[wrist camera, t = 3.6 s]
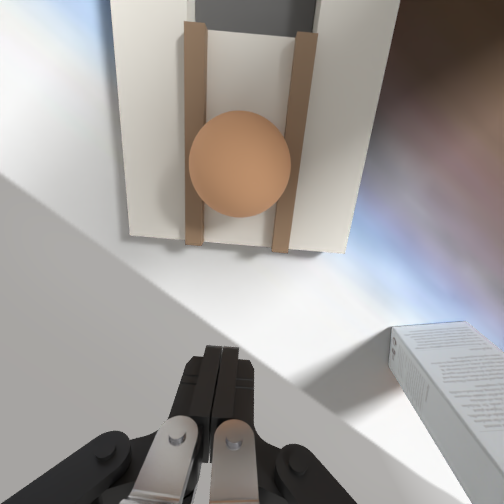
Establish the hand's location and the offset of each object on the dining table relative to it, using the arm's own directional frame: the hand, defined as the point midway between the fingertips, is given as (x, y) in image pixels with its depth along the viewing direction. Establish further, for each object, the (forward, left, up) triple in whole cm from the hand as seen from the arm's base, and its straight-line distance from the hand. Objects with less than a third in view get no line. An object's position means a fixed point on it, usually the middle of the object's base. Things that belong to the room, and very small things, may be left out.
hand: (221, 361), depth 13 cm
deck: (-13, 0, -9) cm, 16 cm away
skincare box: (+5, +16, -9) cm, 19 cm away
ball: (-8, 0, -4) cm, 9 cm away
